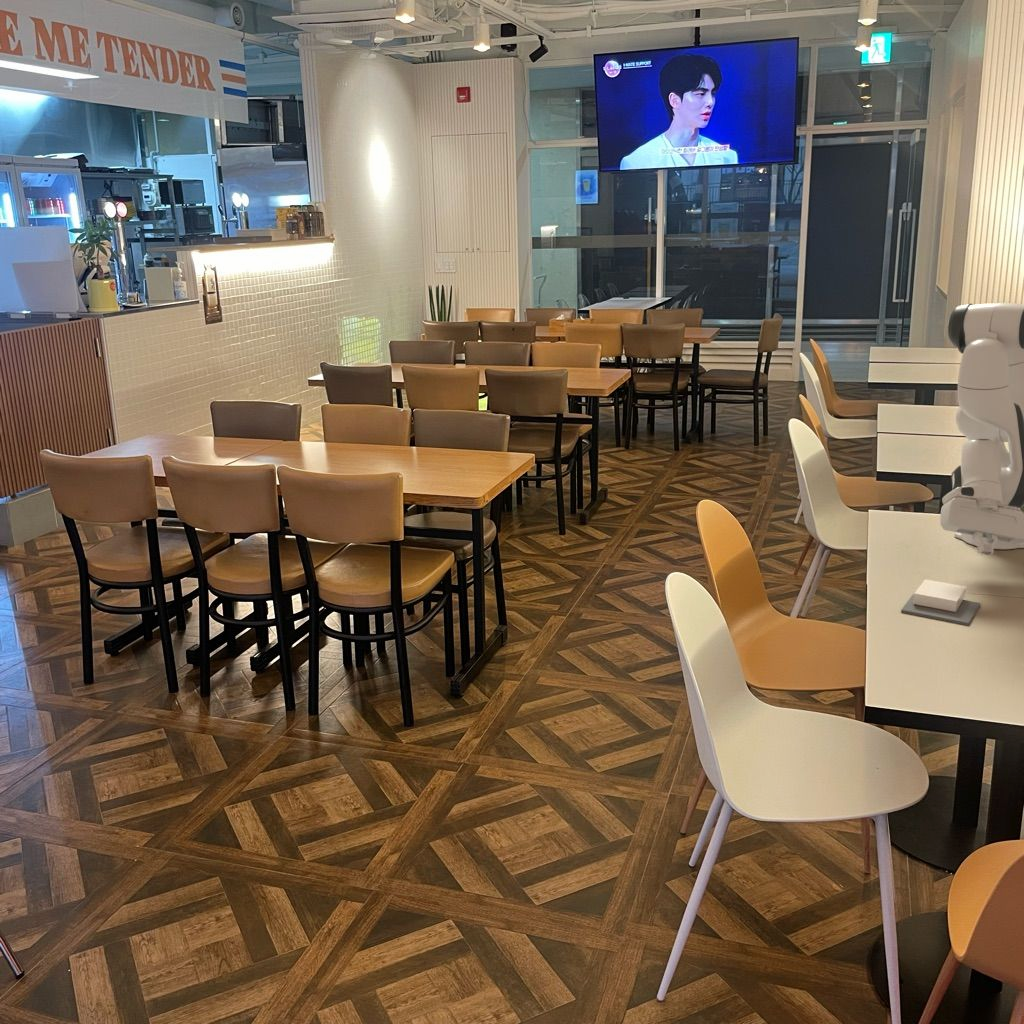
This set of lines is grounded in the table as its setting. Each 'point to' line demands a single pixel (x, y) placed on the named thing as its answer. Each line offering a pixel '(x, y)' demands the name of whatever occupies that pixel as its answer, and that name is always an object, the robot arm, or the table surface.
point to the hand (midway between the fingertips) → (985, 553)
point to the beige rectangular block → (939, 595)
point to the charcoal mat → (944, 611)
